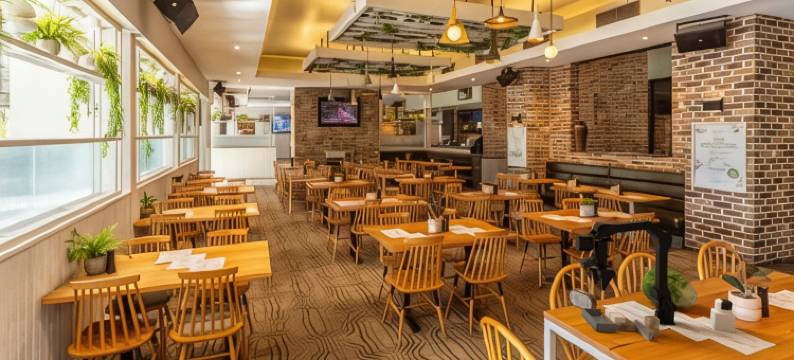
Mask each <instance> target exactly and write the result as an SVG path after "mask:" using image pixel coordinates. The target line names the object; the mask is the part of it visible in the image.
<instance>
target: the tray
mask: <svg viewBox="0 0 794 360" xmlns="http://www.w3.org/2000/svg"><path fill="white" fill-rule="evenodd" d="M581 316H582V318H583V319H584V320H585V321H586V322H587V323H588V324H589V326H591V328H592V329H594V331H595V332H596V333H598V332H599V333H617V324H616V323H608V322H607V321H606V320H605V319H604V318H603V315H602V308H598V307H596V308H582V309H581Z"/></svg>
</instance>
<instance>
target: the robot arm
mask: <svg viewBox="0 0 794 360" xmlns="http://www.w3.org/2000/svg"><path fill="white" fill-rule="evenodd" d="M636 231H645V232H646V233H647V234H648V235H650V236H651V237H650V238H651V242H652V247H653V248H654V250H655V256H654V257H655V258H654V259H655V260H654V261H655V263H654V264H655V266H654V268H655V284H654V286H653V287H651V286H650V294H649V295H650V296H651V299H652V300H653V301H654V302H655V303H654V302H653V303H654V304H655V306H656V307H655V310H654V316H656V317H657V318H658V319H660V325H667V326H668V325H670V326H674V325H675V326H676V324H677V323H676V322H675V312H677V310H678V307H677V306H676V305H675V304H674V303H673V302H672V298H671V292H670V290H669V288H668V268H669V265H668V264H669V252H670V249H671V248H672V245H673V235H672V234H671V233H670V232H669V231H665V230H663V229H662V228H660V227H659V226H657V225H656V224H654V223H653V222H652V221H651V220H648V219H641V220H640V219H639V220H633V221H632V220H630V221H622V222H620V221H619V222H611V221H597V222H595V223H594V224H593V226H592V229H591V230H590V232H588V234H587V235H582V234H577V235H576V236H577V237H576V238H575V241H574V248H575V250H576V252H590V253H591V254H590V256H586V257H584V258H581V259H579V260H578V261H579V265H580V267H581V268H582V269H584V270H587V269H588V270H589V271H591V272H590V273H591V276H592V280H593V284H594V285H598V282H599V280H600V287H601V291H602V292H605V291H606V289H607V288H608V286H609V284H610V282H611V281H612V280H613V279H614V278H616V276H617V272H616V271H615V270H614V269H613V268H611V267H610V264H609V259H610V257H611V256H610V254H609V245H610V243H614V242H615V240H614V239H613V238H612V237H611V236H614V235H616V234H619V233H630V232H636ZM592 251H593V252H592Z"/></svg>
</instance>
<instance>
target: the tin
mask: <svg viewBox="0 0 794 360" xmlns="http://www.w3.org/2000/svg"><path fill="white" fill-rule="evenodd" d="M568 296H569V300H570V302H571V304H572V305H573V306H575V307H577V308H579V309H581V310H582V308H598V304H597V300H596V297H595V295H594V294H592V293H591V292H589V291H586V290H585V289H583V288H582V289H581V288H579V287H576V288H572V289H570V291H569V295H568Z"/></svg>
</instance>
